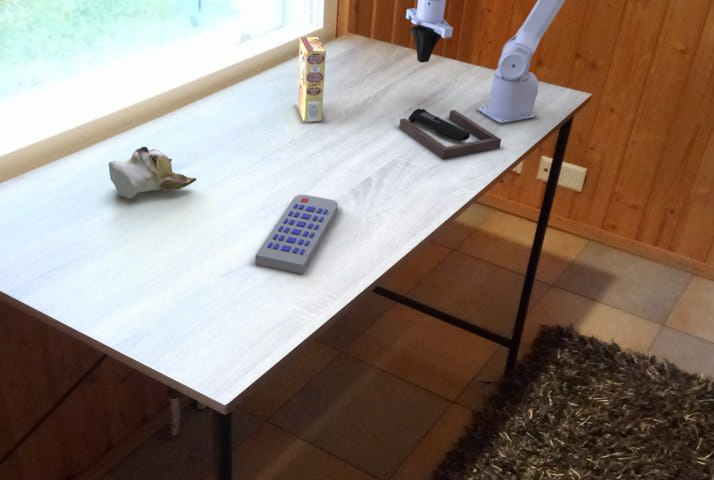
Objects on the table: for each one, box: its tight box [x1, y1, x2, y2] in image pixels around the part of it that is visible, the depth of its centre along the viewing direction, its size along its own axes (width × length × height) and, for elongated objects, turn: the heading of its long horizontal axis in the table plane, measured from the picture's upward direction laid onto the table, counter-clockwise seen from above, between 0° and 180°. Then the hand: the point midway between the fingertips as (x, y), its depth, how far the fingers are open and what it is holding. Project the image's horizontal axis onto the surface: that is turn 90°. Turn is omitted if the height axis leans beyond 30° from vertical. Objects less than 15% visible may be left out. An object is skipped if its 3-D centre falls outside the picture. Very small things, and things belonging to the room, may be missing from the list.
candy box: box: [297, 36, 327, 123], centre depth 173 cm, size 9×4×15 cm, turn 8°
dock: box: [398, 109, 502, 160], centre depth 169 cm, size 14×16×2 cm
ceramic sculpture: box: [108, 146, 197, 200], centre depth 146 cm, size 11×9×15 cm
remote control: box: [254, 194, 339, 275], centre depth 137 cm, size 8×23×2 cm, turn 160°
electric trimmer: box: [407, 108, 471, 143], centre depth 171 cm, size 4×16×3 cm, turn 35°
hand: (423, 61), depth 179 cm, fingers closed
